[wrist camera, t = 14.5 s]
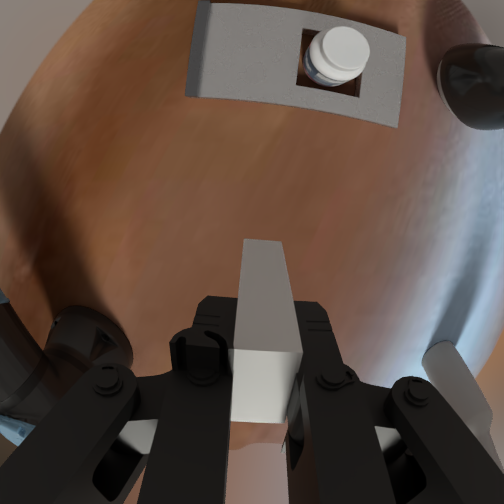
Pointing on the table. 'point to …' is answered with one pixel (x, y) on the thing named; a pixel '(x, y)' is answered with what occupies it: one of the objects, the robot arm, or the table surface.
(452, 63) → the pump dispenser
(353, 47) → the pill bottle
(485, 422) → the bottle
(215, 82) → the jig
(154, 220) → the table surface
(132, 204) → the table surface
